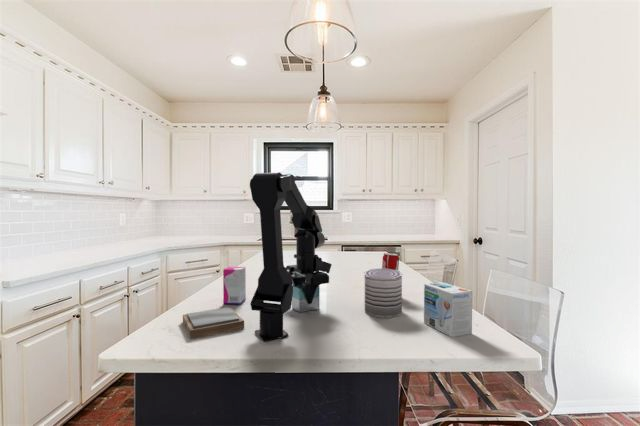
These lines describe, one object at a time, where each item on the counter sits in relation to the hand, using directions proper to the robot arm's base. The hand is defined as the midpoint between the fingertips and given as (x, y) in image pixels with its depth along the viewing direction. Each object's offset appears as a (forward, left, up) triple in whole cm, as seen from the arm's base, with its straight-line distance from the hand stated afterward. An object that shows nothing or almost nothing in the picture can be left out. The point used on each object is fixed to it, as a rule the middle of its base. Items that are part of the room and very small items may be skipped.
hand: (305, 301), depth 99 cm
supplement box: (+18, +17, -2) cm, 25 cm away
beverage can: (-2, -33, -2) cm, 33 cm away
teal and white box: (0, 0, -2) cm, 2 cm away
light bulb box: (-33, -24, -2) cm, 41 cm away
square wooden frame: (0, +28, -2) cm, 28 cm away
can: (-14, -19, -2) cm, 24 cm away
